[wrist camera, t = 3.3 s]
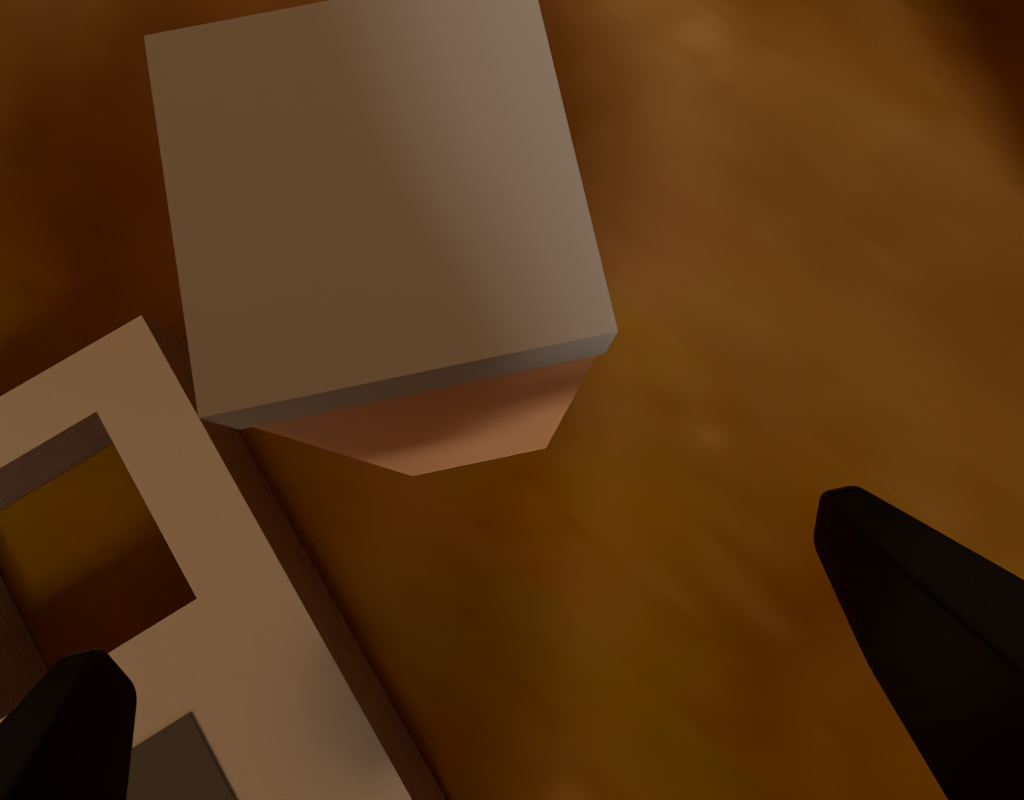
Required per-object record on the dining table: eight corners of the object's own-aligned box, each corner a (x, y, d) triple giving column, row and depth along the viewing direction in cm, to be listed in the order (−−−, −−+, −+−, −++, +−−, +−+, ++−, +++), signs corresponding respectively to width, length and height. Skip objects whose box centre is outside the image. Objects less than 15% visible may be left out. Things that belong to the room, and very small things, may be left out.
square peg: (547, 449, 21) (618, 331, 7) (411, 478, 20) (199, 418, 7) (518, 317, 21) (529, -38, 7) (386, 345, 21) (143, 35, 7)
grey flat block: (468, 838, 19) (461, 890, 16) (141, 1057, 18) (80, 1148, 16) (184, 337, 21) (139, 314, 19) (-118, 514, 20) (-210, 515, 18)
